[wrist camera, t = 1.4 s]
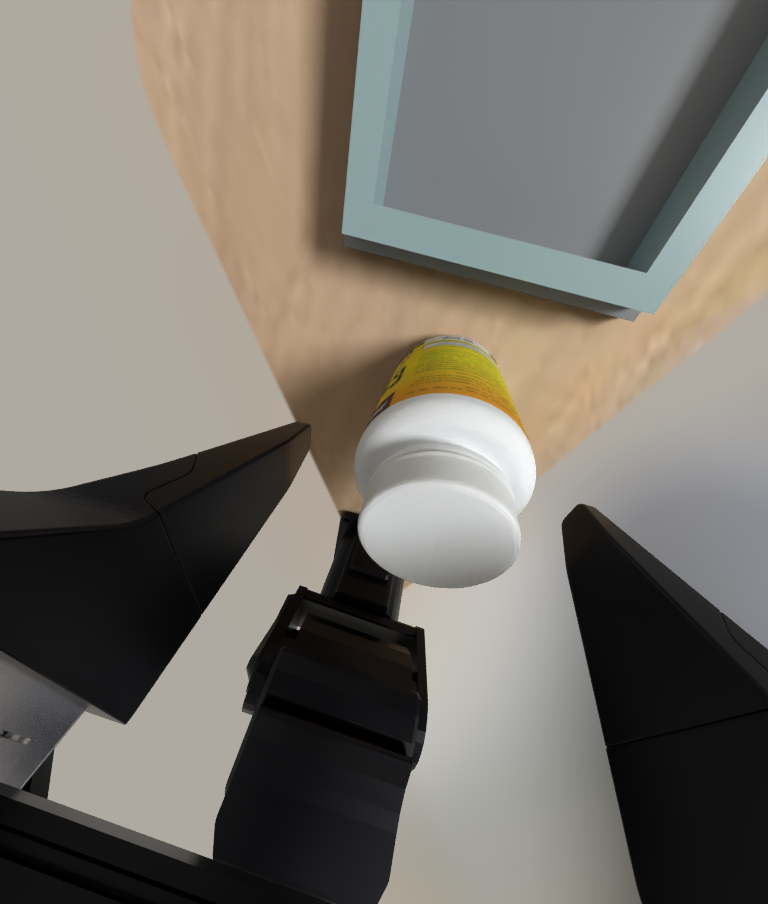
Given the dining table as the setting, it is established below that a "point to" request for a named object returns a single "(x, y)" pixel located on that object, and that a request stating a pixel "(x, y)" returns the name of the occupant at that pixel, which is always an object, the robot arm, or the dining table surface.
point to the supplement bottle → (444, 468)
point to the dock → (555, 139)
